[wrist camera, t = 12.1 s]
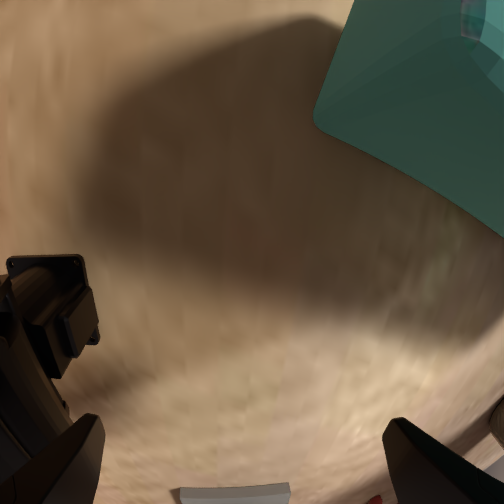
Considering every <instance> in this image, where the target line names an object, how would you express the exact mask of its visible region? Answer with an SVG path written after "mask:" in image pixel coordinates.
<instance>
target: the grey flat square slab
mask: <svg viewBox="0 0 504 504" xmlns="http://www.w3.org/2000/svg"><path fill="white" fill-rule="evenodd" d="M290 495H291V491H290V486H289V483H281V484H272V485H262V486H250V487H232V488H180V500H181V503H182V504H288V503H289V499H290Z"/></svg>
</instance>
